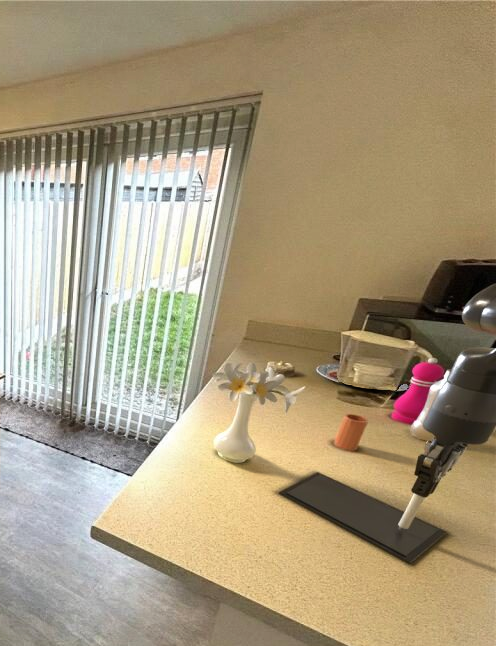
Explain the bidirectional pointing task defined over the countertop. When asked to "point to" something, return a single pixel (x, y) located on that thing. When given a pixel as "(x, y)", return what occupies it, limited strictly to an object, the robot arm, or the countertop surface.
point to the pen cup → (350, 432)
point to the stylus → (410, 512)
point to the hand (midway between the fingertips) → (421, 492)
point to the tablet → (363, 516)
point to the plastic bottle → (417, 426)
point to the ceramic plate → (332, 372)
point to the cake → (281, 368)
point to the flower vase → (247, 407)
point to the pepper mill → (417, 391)
